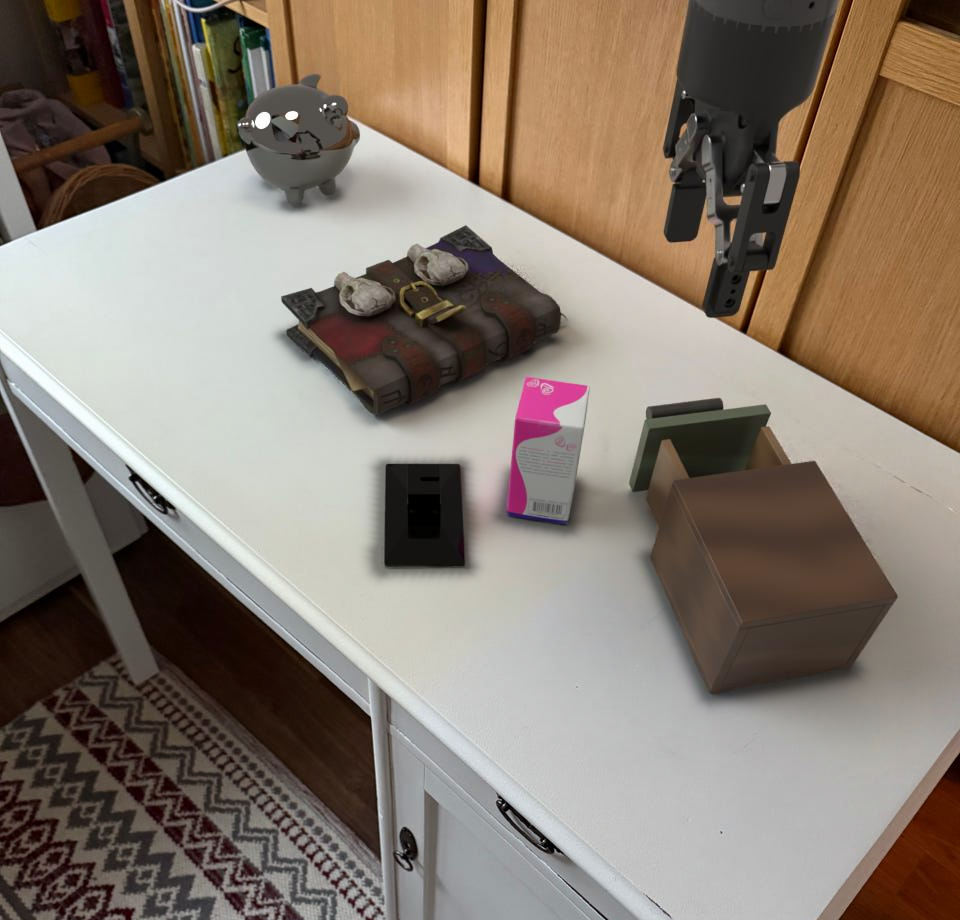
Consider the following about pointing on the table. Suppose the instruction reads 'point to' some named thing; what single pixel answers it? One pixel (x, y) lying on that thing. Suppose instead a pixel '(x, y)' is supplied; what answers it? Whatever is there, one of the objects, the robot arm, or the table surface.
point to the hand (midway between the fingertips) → (698, 274)
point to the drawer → (700, 446)
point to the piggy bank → (299, 137)
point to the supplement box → (546, 449)
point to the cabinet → (767, 575)
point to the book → (421, 320)
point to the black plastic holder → (423, 516)
